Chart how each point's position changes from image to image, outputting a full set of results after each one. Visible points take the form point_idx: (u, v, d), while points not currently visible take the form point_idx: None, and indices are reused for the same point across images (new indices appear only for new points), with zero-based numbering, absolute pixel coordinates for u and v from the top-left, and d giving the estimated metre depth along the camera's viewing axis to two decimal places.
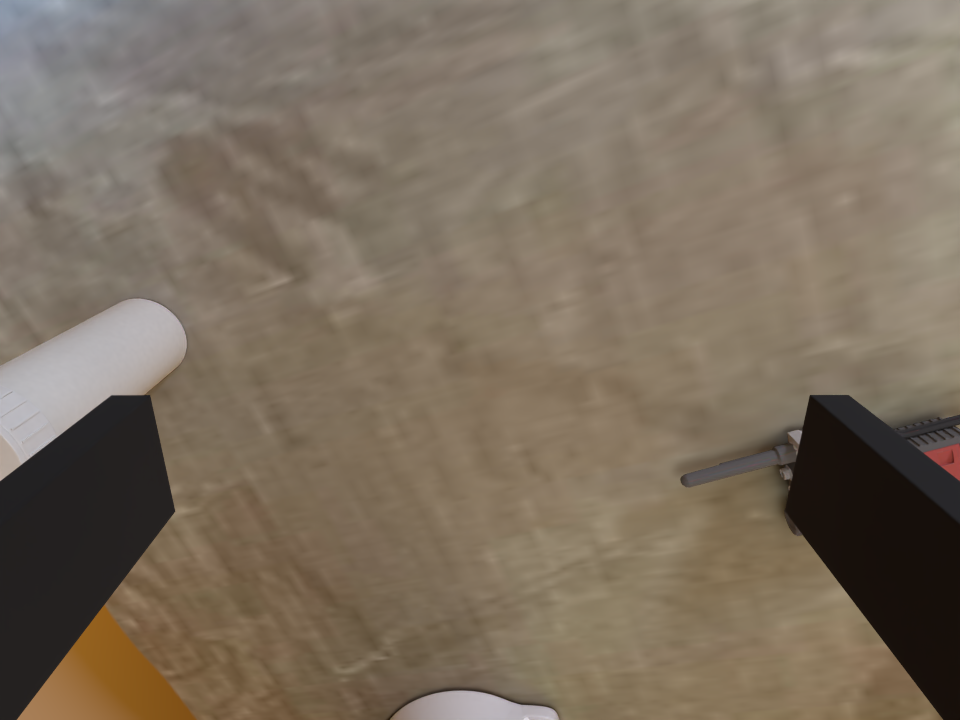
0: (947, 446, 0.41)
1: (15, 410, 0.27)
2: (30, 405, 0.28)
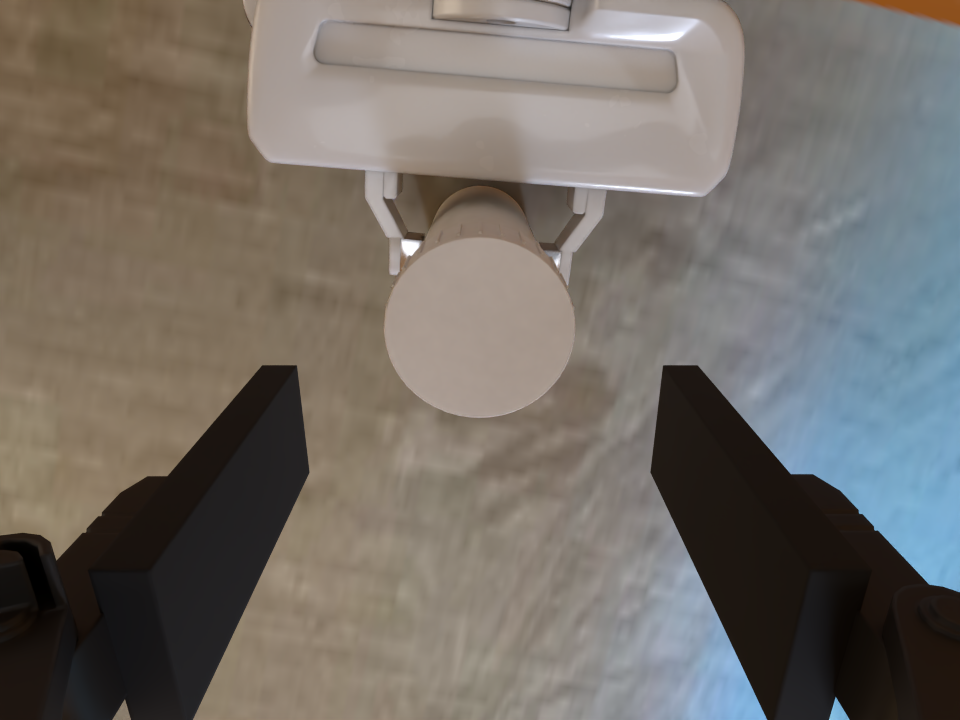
0: None
1: None
2: None
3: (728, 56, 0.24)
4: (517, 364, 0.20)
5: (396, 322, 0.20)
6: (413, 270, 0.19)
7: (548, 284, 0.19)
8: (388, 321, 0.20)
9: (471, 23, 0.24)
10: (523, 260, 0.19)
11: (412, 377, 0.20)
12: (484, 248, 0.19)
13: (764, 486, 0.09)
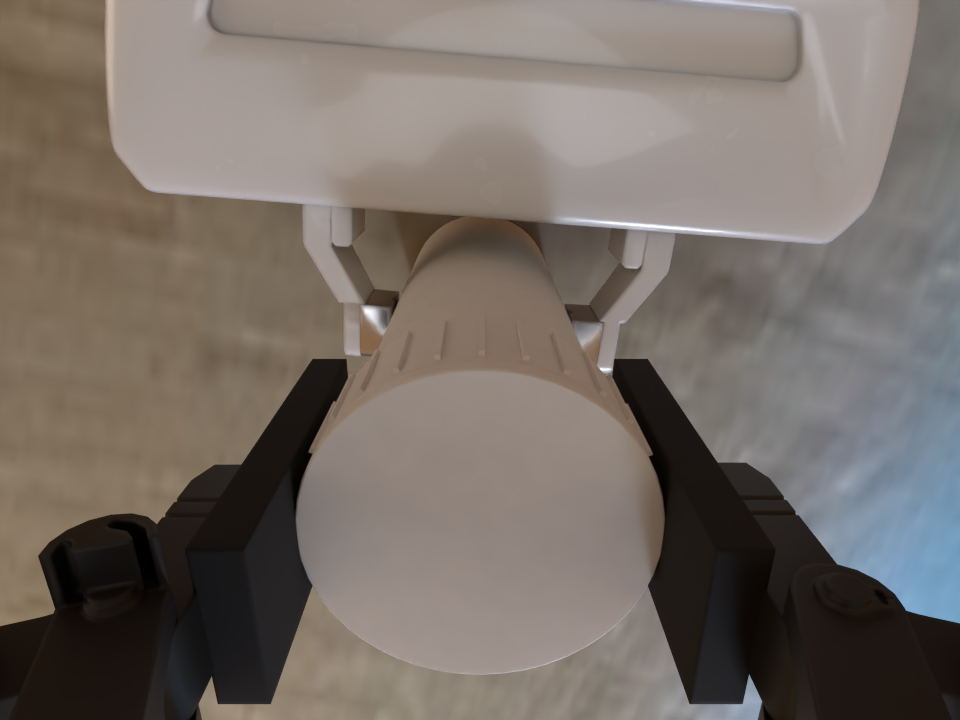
0: None
1: None
2: None
3: (893, 19, 0.14)
4: (551, 591, 0.11)
5: (318, 521, 0.10)
6: (347, 430, 0.09)
7: (616, 455, 0.10)
8: (302, 520, 0.10)
9: None
10: (568, 412, 0.09)
11: (353, 612, 0.11)
12: (489, 390, 0.09)
13: (689, 472, 0.10)
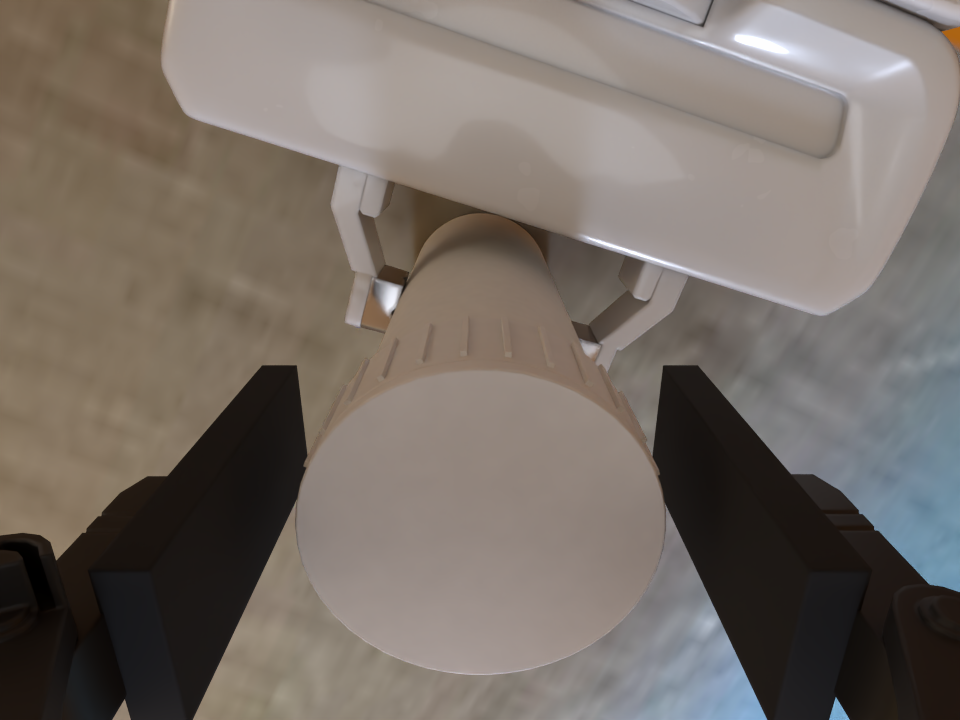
0: None
1: None
2: None
3: (930, 126, 0.15)
4: (571, 499, 0.10)
5: (411, 647, 0.11)
6: (329, 596, 0.11)
7: (431, 399, 0.09)
8: (405, 656, 0.11)
9: None
10: (367, 428, 0.09)
11: (519, 657, 0.11)
12: (324, 483, 0.10)
13: (764, 486, 0.09)
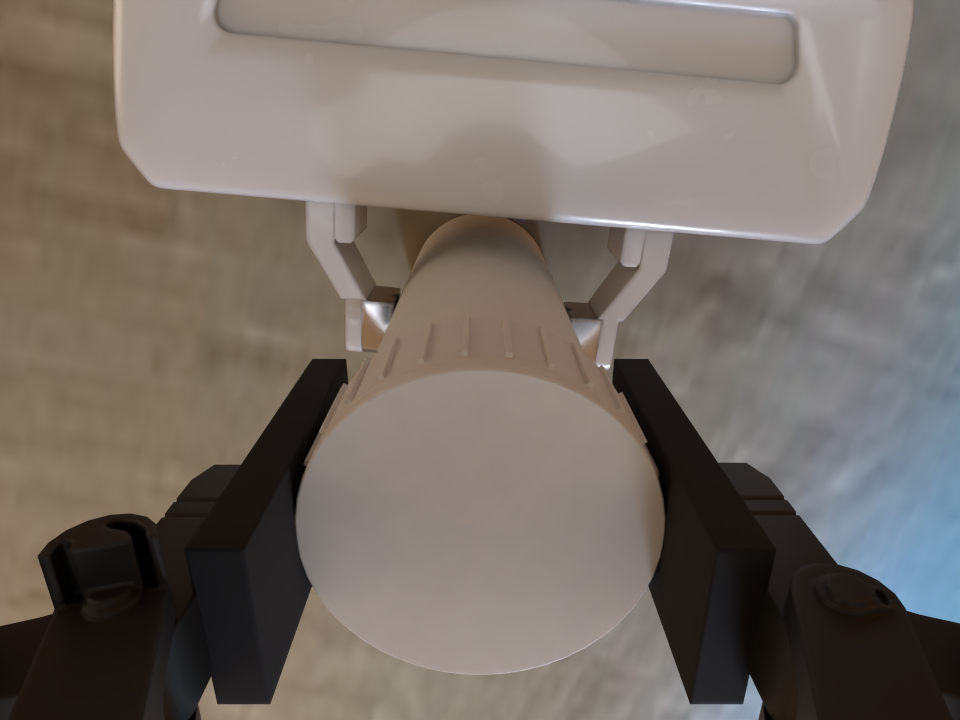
0: None
1: None
2: None
3: (888, 24, 0.15)
4: (559, 483, 0.10)
5: (441, 655, 0.11)
6: (349, 620, 0.11)
7: (396, 412, 0.09)
8: (437, 666, 0.11)
9: None
10: (342, 452, 0.10)
11: (549, 648, 0.11)
12: (316, 512, 0.10)
13: (690, 472, 0.10)
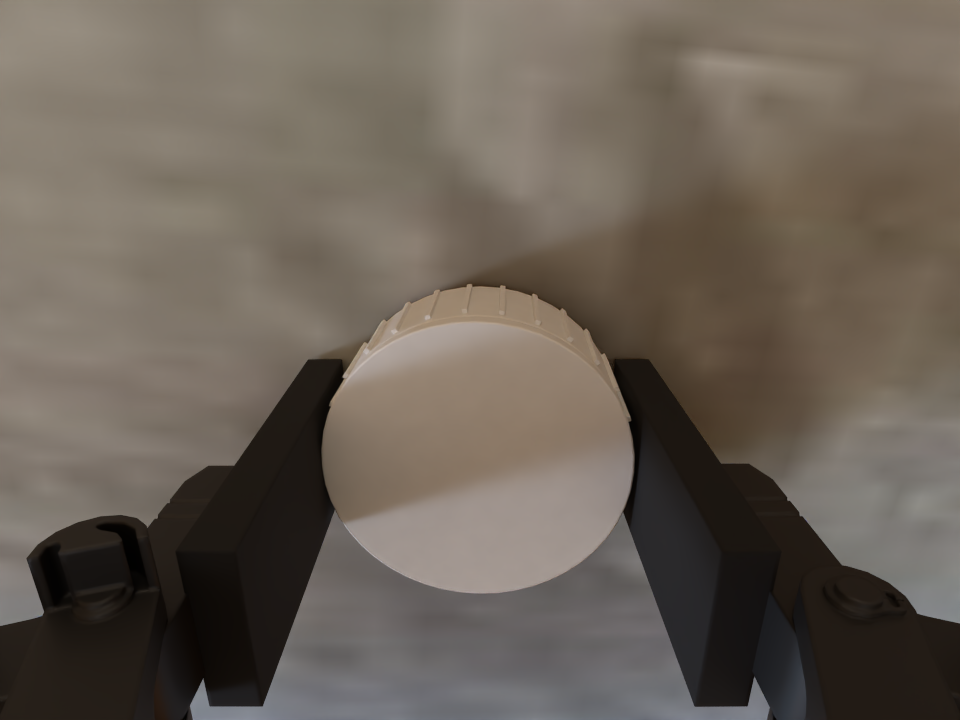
0: None
1: None
2: None
3: None
4: (542, 423, 0.12)
5: (443, 575, 0.13)
6: (366, 540, 0.13)
7: (406, 358, 0.11)
8: (440, 584, 0.13)
9: None
10: (361, 392, 0.11)
11: (536, 571, 0.13)
12: (339, 444, 0.12)
13: (693, 474, 0.10)
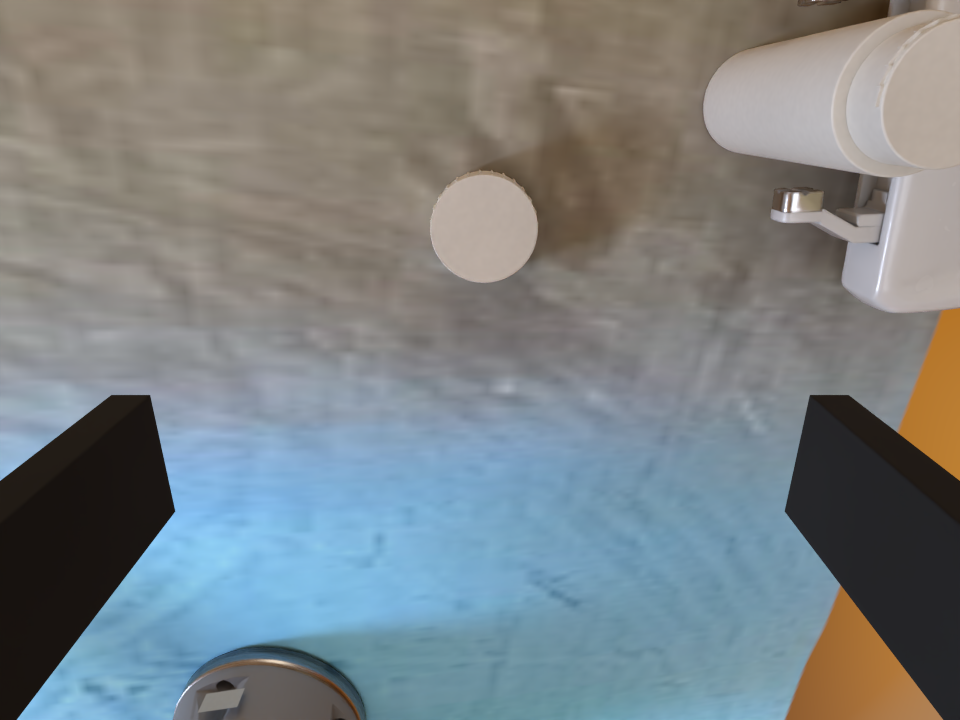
0: None
1: None
2: None
3: None
4: (506, 211, 0.35)
5: (472, 274, 0.36)
6: (444, 260, 0.36)
7: (461, 188, 0.34)
8: (471, 278, 0.36)
9: None
10: (445, 201, 0.34)
11: (505, 271, 0.36)
12: (437, 221, 0.35)
13: None
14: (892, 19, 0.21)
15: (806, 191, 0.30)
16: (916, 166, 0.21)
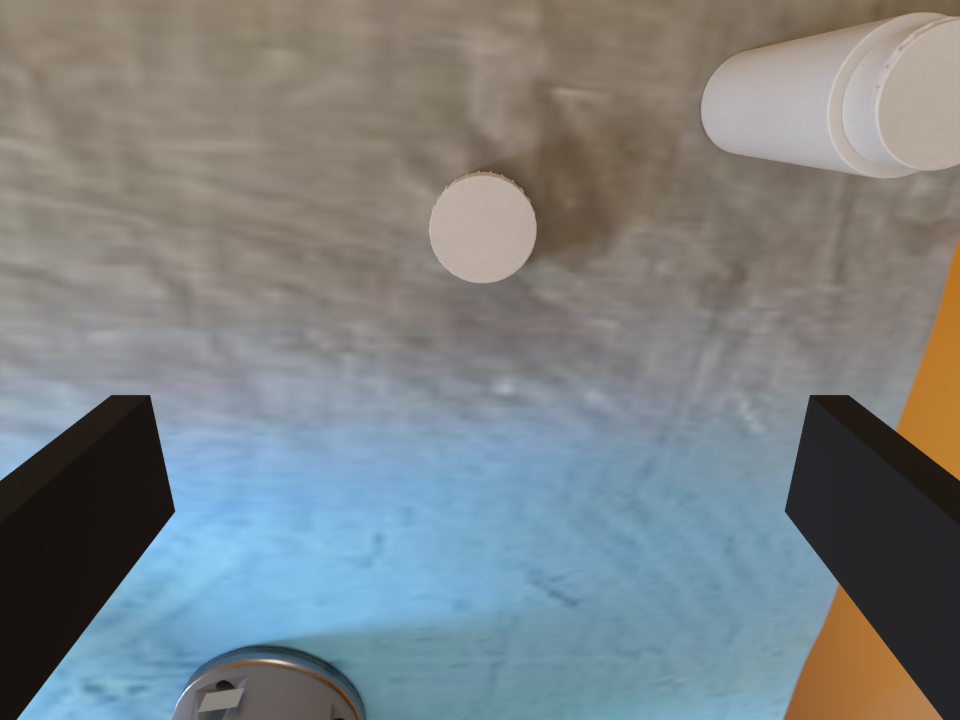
0: None
1: None
2: None
3: None
4: (505, 212, 0.35)
5: (471, 275, 0.36)
6: (443, 261, 0.36)
7: (460, 189, 0.34)
8: (470, 279, 0.36)
9: None
10: (444, 201, 0.34)
11: (504, 272, 0.36)
12: (436, 222, 0.35)
13: None
14: (887, 21, 0.21)
15: None
16: (911, 167, 0.21)
